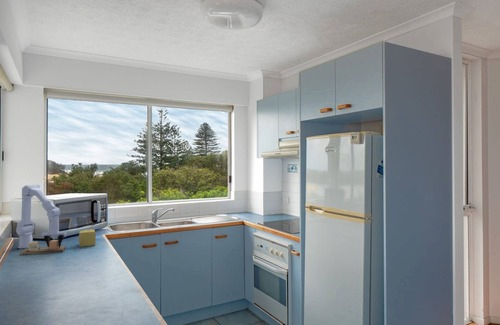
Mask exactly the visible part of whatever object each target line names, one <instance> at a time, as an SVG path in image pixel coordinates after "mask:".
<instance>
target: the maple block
mask: <svg viewBox="0 0 500 325" xmlns="http://www.w3.org/2000/svg"><path fill="white" fill-rule="evenodd" d="M38 248H39V241H38V240H37V241H32V242H30V243H29V251H38Z"/></svg>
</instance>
